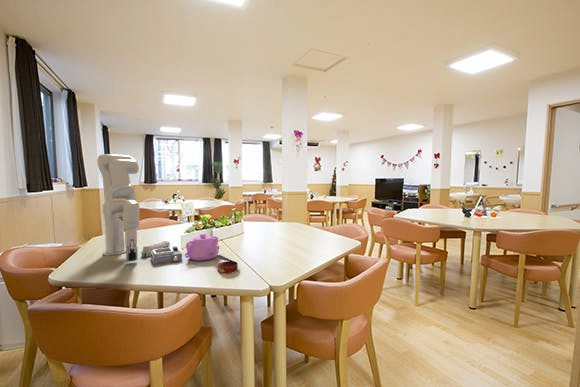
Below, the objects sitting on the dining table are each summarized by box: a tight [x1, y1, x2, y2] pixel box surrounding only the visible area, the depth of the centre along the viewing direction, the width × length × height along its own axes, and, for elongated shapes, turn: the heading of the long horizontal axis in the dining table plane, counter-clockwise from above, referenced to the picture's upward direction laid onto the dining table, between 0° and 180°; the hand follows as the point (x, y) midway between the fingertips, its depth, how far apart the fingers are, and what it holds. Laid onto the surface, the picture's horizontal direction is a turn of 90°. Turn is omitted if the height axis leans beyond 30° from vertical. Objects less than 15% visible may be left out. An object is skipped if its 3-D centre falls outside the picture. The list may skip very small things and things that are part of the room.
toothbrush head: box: [140, 240, 171, 258], centre depth 160 cm, size 5×7×25 cm
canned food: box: [216, 254, 239, 274], centre depth 127 cm, size 11×10×10 cm
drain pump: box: [125, 245, 139, 263], centre depth 137 cm, size 5×5×8 cm
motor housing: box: [150, 245, 183, 266], centre depth 143 cm, size 16×14×6 cm
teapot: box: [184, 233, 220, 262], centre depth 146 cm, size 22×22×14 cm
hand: (131, 258), depth 137 cm, fingers closed on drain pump, 5 cm apart
